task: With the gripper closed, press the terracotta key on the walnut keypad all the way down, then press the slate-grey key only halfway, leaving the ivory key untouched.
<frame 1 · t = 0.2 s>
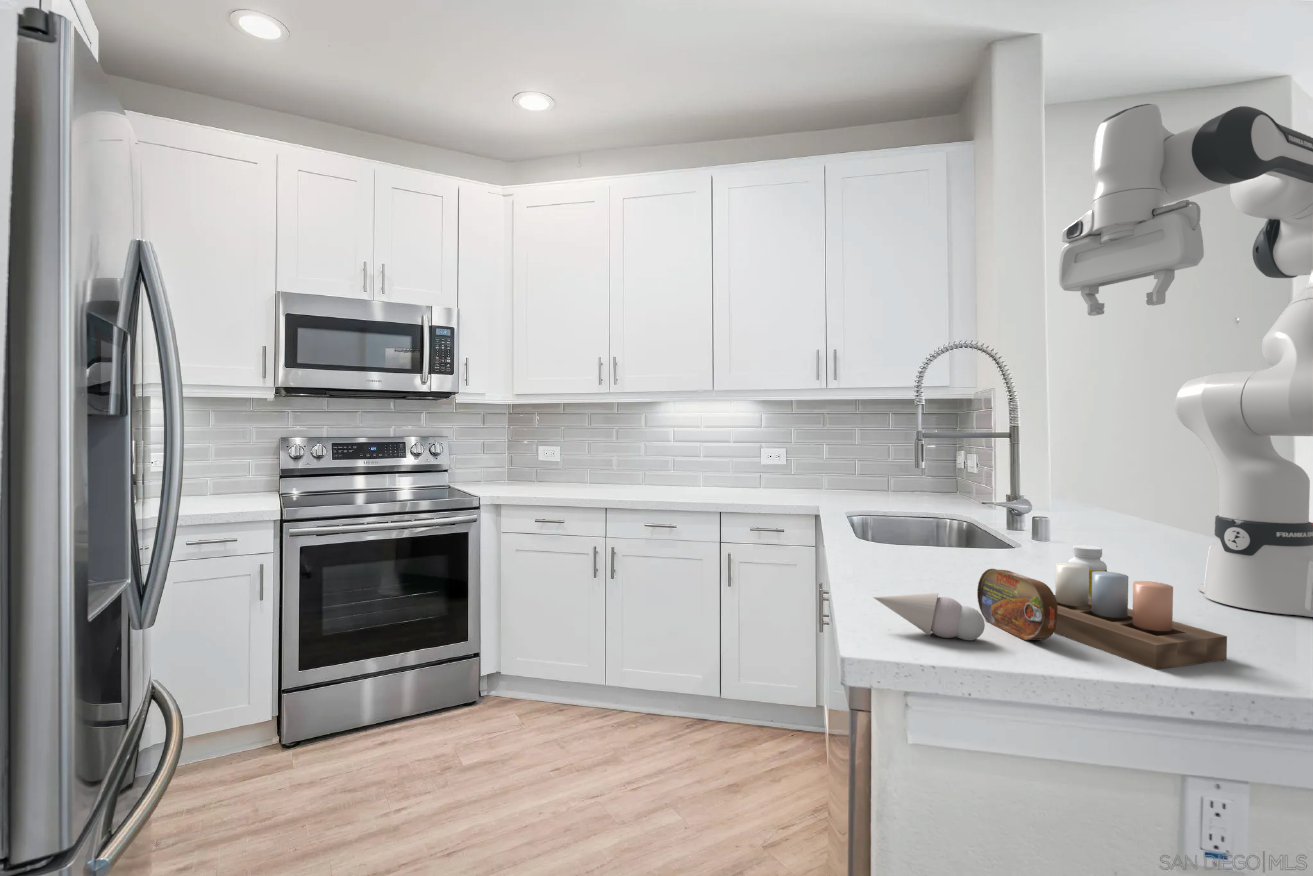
hand: (1124, 310, 99), 47 cm above the counter, fingers open, 8 cm apart
supplement bottle: (1086, 607, 108), on the counter
key slate: (1109, 594, 92), point 6 cm above the counter, slide at 0.0 cm
key ivory: (1072, 584, 98), point 6 cm above the counter, slide at 0.0 cm
key terracotta: (1152, 605, 86), point 6 cm above the counter, slide at 0.0 cm
keypad board: (1109, 636, 92), on the counter
ice cream cone: (926, 636, 93), on the counter
tin: (1015, 632, 95), on the counter
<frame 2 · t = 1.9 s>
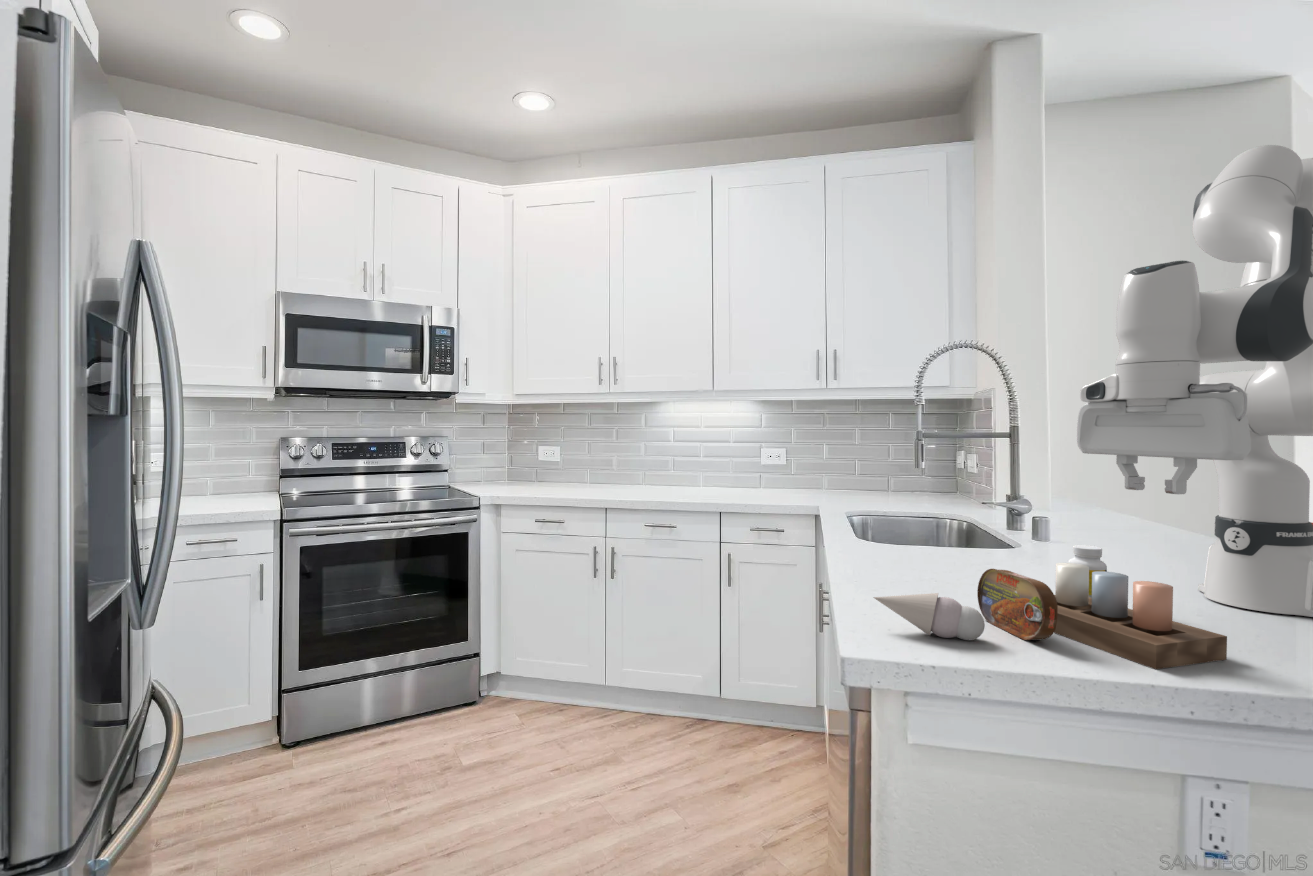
hand: (1154, 491, 86), 21 cm above the counter, fingers open, 4 cm apart
nothing on the counter moved.
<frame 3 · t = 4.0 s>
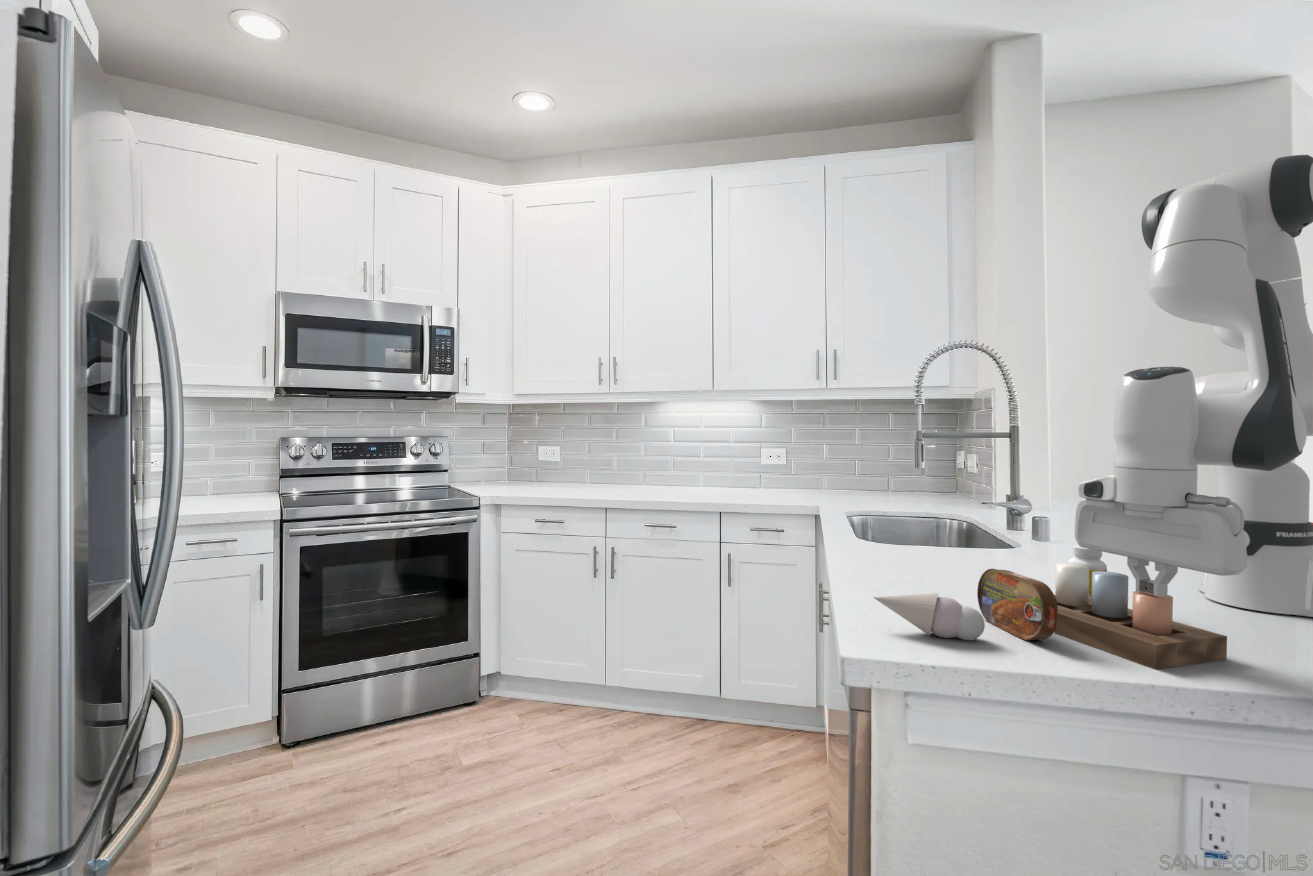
hand: (1151, 594, 86), 7 cm above the counter, fingers closed, pressing on key terracotta
key terracotta: (1152, 615, 86), point 5 cm above the counter, slide at 1.4 cm, touching gripper
everything else where it was.
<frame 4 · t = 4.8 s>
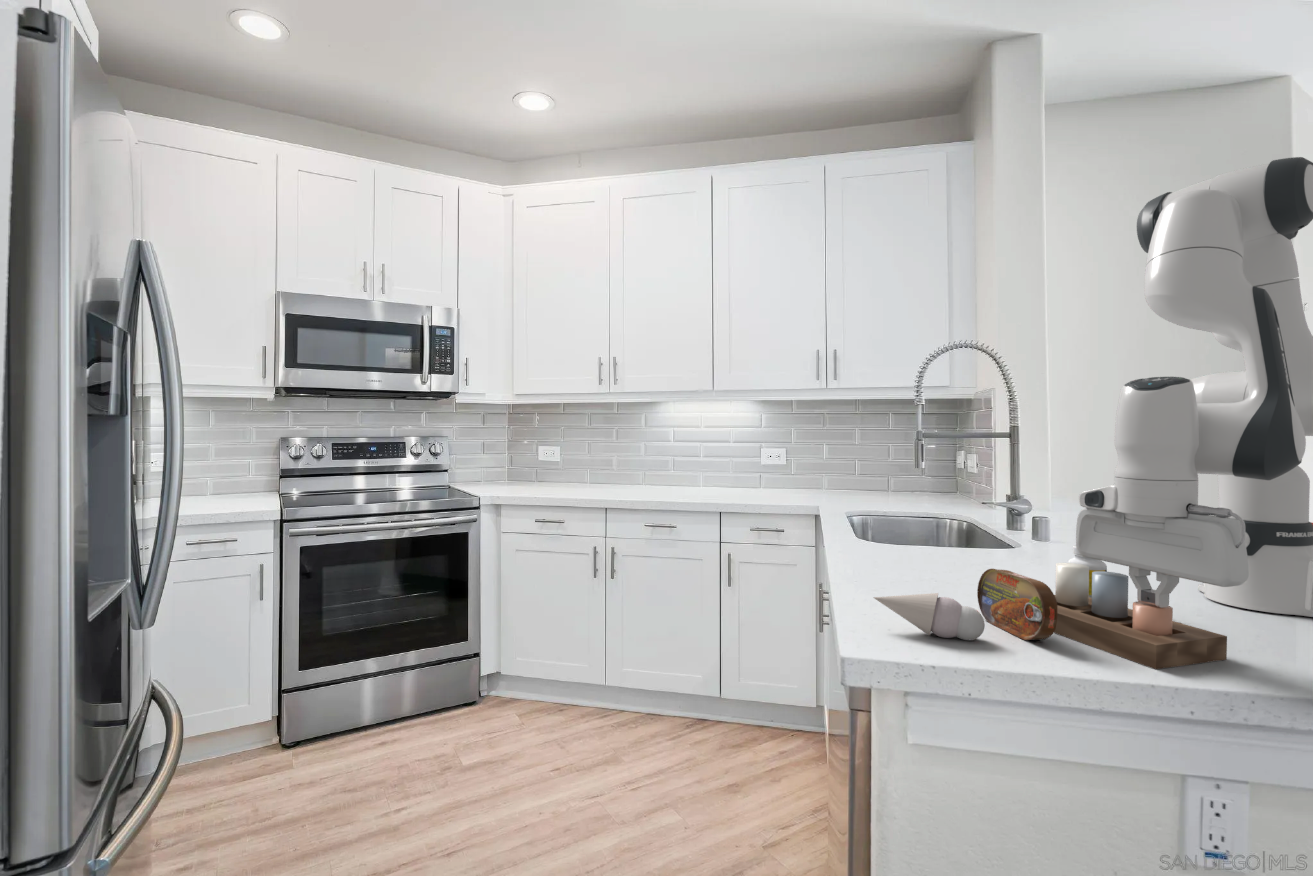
hand: (1152, 604, 86), 6 cm above the counter, fingers closed
key terracotta: (1152, 626, 86), point 3 cm above the counter, slide at 2.8 cm
everything else where it was.
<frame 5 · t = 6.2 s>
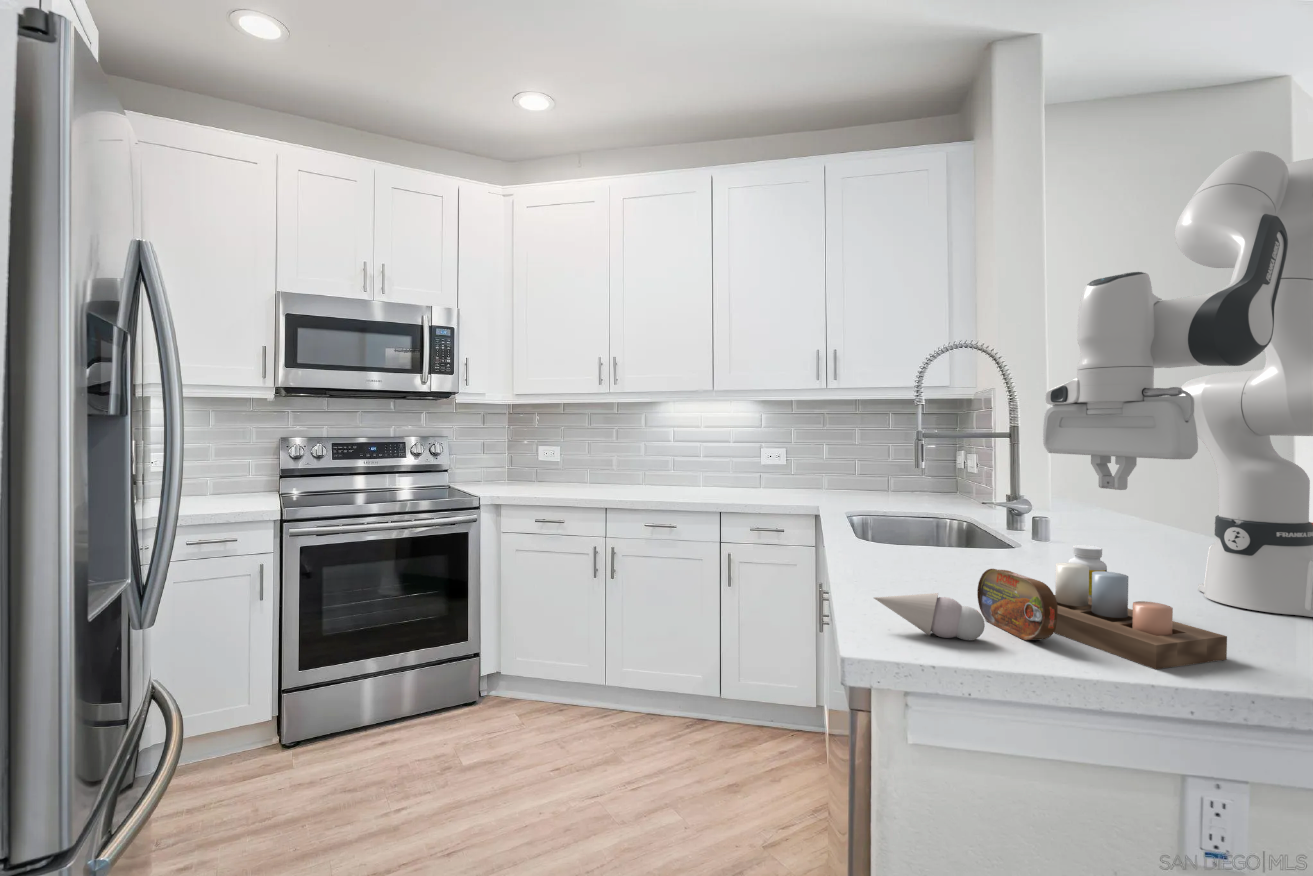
hand: (1112, 489, 91), 21 cm above the counter, fingers closed
nothing on the counter moved.
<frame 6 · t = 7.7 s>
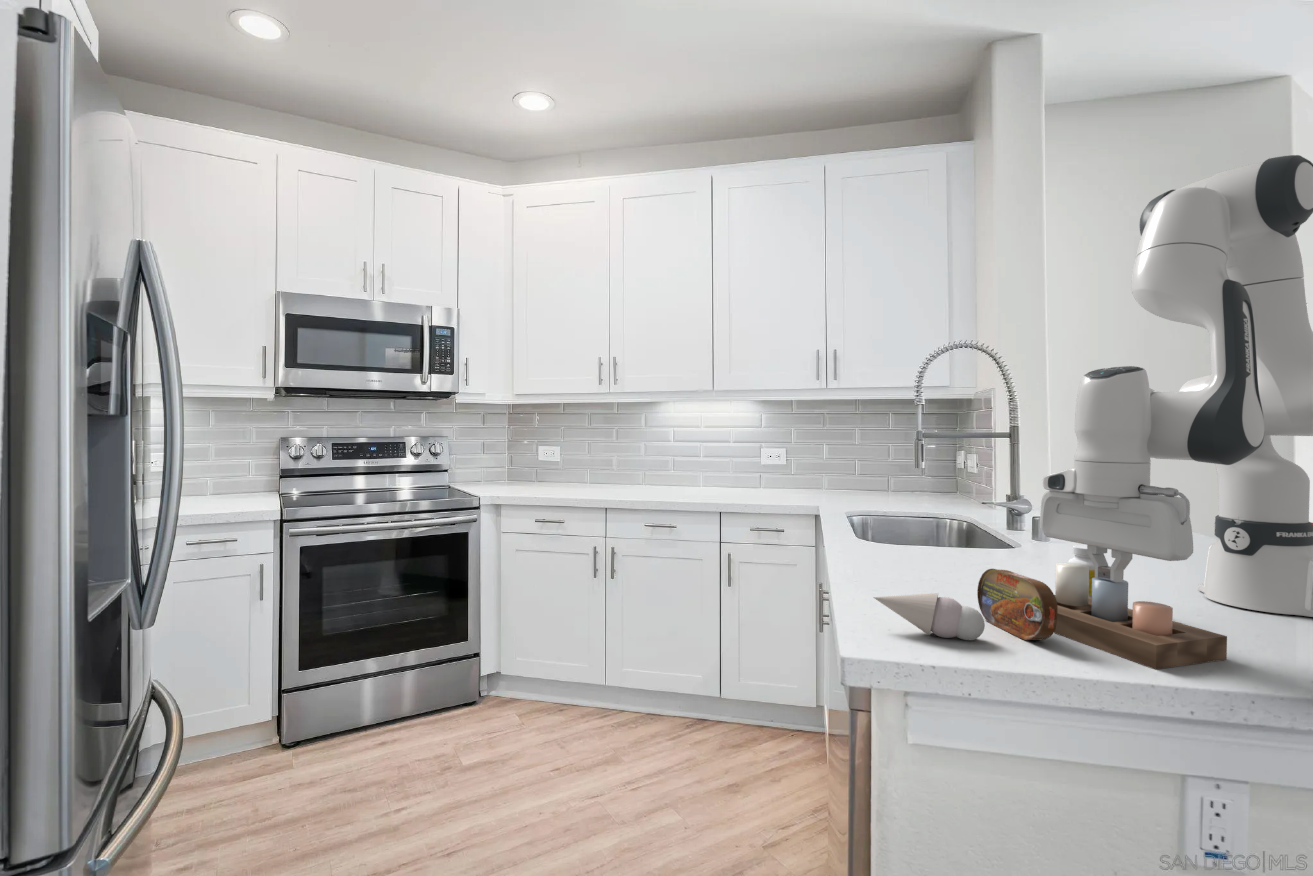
hand: (1108, 580, 92), 8 cm above the counter, fingers closed, pressing on key slate
key slate: (1109, 599, 92), point 5 cm above the counter, slide at 0.8 cm, touching gripper
everything else where it was.
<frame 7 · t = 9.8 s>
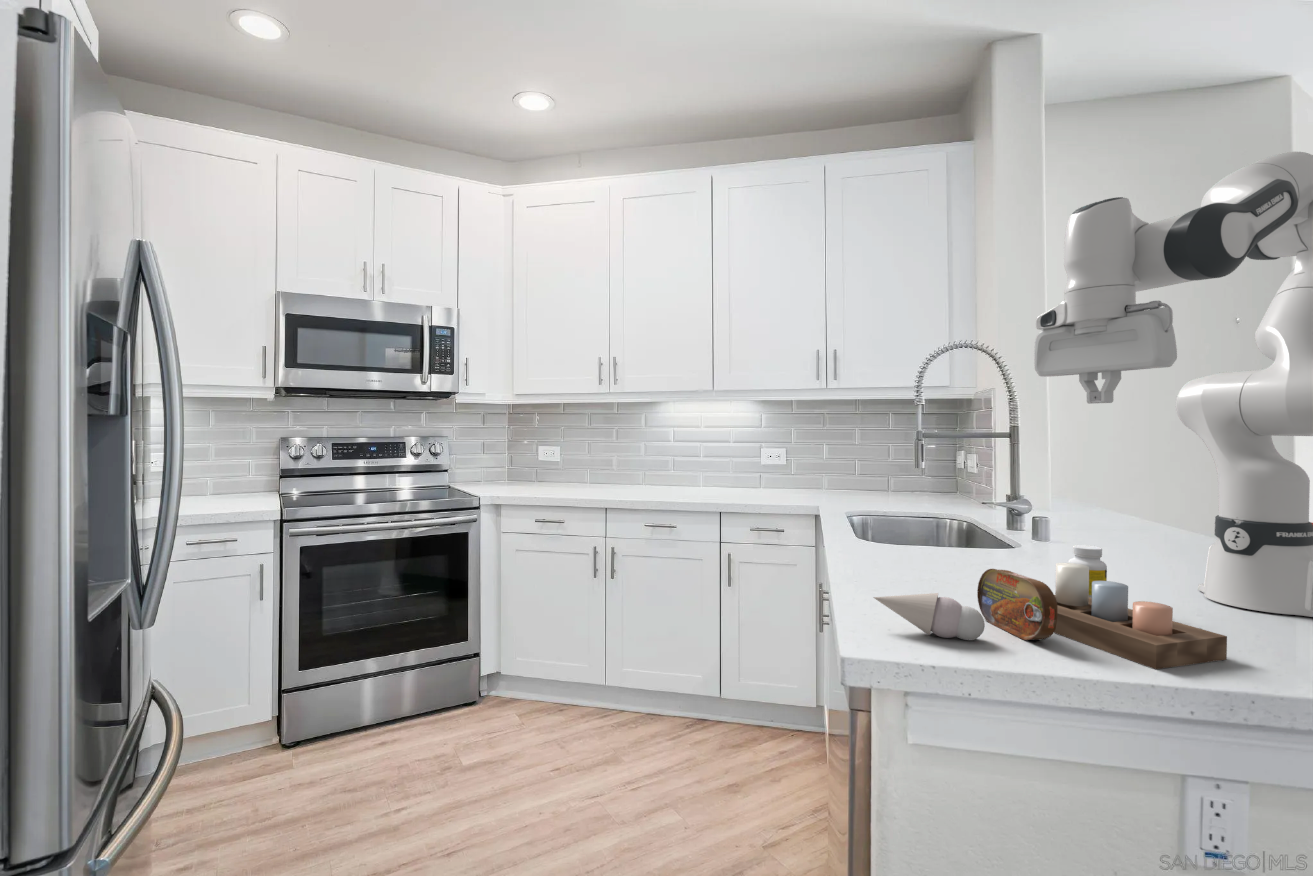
hand: (1099, 403, 98), 33 cm above the counter, fingers closed
key slate: (1109, 603, 92), point 5 cm above the counter, slide at 1.4 cm
everything else where it was.
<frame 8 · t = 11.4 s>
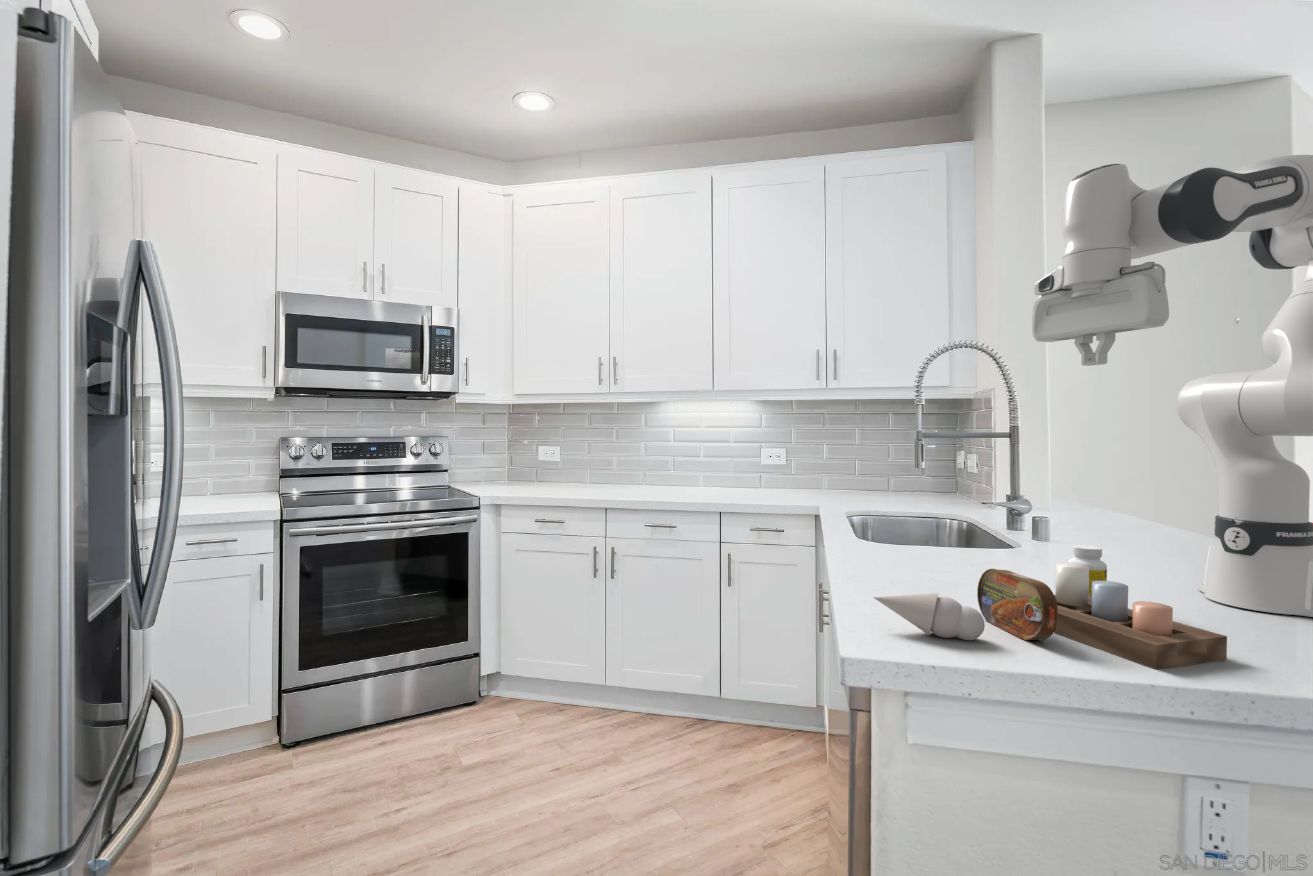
hand: (1094, 364, 100), 39 cm above the counter, fingers closed
nothing on the counter moved.
at the end: key terracotta slide at 2.8 cm; key slate slide at 1.4 cm; key ivory slide at 0.0 cm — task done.
